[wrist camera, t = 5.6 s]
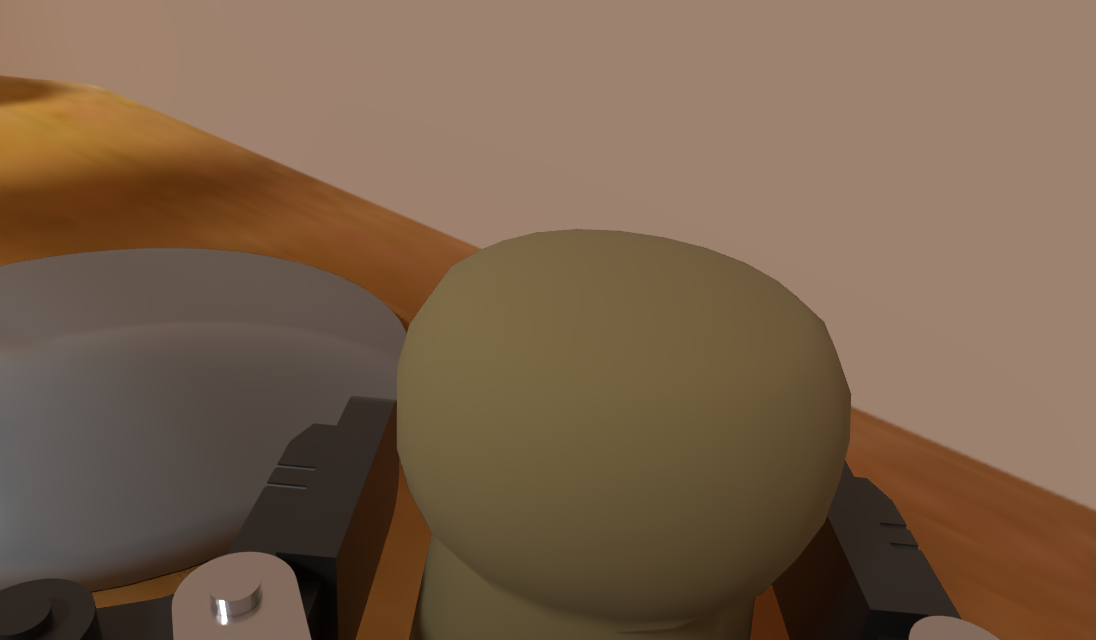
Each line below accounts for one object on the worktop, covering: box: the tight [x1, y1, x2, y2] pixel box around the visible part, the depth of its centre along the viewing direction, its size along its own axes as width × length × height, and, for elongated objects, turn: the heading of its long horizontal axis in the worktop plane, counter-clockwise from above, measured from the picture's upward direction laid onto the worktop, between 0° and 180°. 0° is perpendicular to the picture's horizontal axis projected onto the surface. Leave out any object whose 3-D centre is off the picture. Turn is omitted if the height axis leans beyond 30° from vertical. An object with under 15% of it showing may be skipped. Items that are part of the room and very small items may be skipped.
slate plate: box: [0, 248, 407, 592], centre depth 24 cm, size 18×18×1 cm
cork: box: [397, 229, 851, 640], centre depth 11 cm, size 6×6×11 cm
